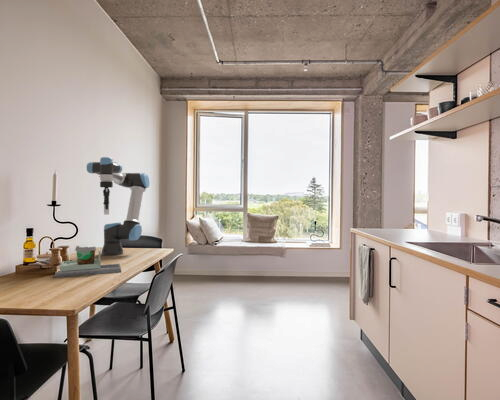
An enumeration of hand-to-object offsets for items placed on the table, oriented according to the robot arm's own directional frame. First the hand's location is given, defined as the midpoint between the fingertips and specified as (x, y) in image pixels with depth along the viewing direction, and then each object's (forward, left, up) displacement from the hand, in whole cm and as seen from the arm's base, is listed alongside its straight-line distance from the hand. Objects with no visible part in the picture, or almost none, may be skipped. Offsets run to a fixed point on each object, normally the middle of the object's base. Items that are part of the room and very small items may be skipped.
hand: (106, 214), depth 220 cm
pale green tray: (+24, -14, -29) cm, 40 cm away
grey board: (+24, -10, -32) cm, 41 cm away
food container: (+25, -13, -27) cm, 39 cm away
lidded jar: (+3, -33, -32) cm, 46 cm away
